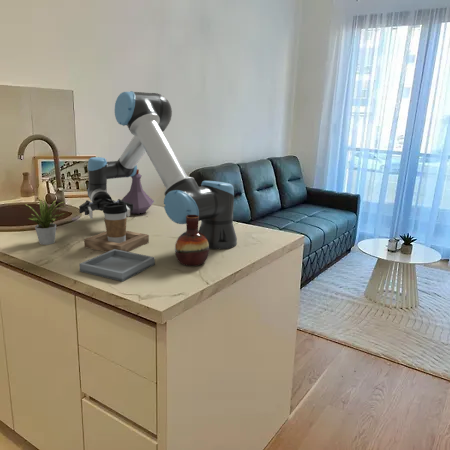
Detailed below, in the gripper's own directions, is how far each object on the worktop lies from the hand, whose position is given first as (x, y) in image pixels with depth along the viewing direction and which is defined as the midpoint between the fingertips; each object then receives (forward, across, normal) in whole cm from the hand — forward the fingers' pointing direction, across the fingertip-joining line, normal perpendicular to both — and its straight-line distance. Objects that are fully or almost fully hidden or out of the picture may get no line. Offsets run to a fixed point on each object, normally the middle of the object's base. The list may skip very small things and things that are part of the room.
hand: (110, 213), depth 157 cm
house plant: (-2, +21, -11) cm, 24 cm away
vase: (+34, -20, -8) cm, 40 cm away
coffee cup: (+8, -1, -10) cm, 12 cm away
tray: (+31, +3, -8) cm, 32 cm away
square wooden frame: (+8, -1, -9) cm, 12 cm away
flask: (-40, -19, -11) cm, 46 cm away
